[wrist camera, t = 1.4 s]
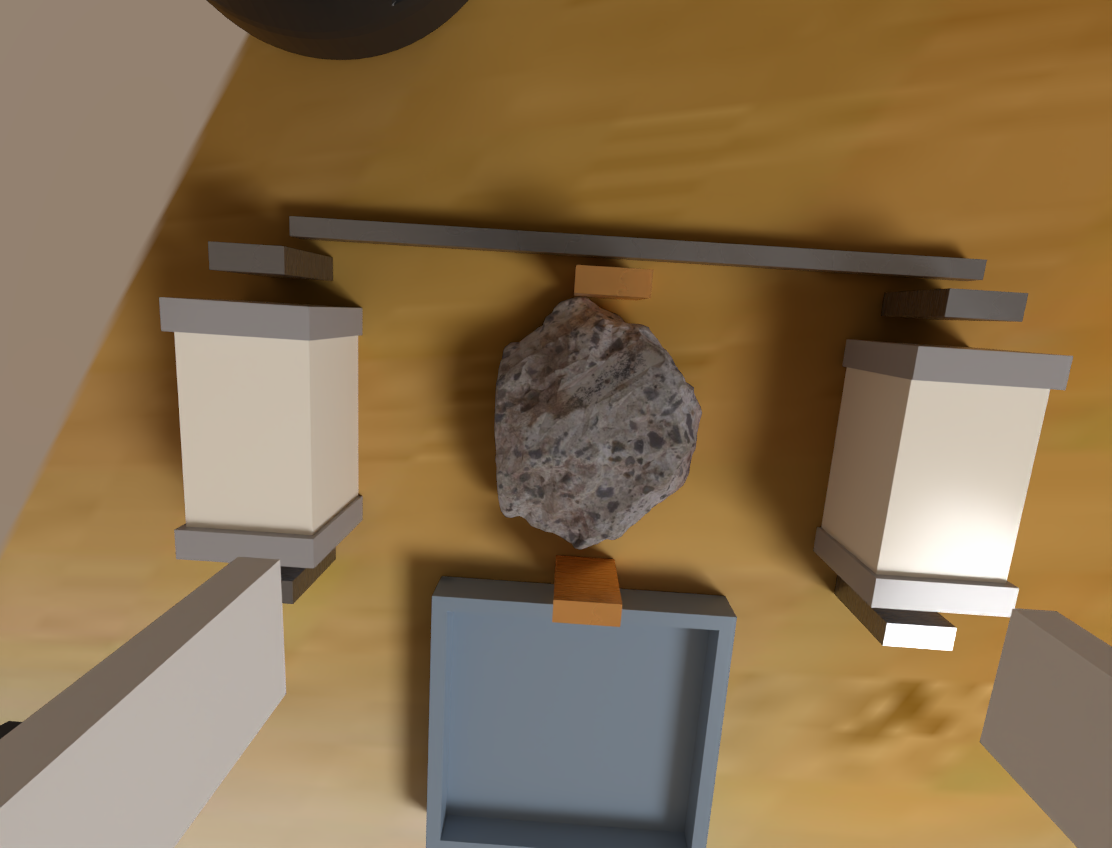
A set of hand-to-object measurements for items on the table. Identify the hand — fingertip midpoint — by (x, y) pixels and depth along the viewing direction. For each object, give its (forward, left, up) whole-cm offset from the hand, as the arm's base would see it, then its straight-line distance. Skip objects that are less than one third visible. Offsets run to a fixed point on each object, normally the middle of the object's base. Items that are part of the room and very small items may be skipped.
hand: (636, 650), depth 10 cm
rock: (-1, -1, -17) cm, 17 cm away
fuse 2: (-1, +13, -17) cm, 21 cm away
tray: (+14, 0, -17) cm, 22 cm away
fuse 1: (-1, -14, -17) cm, 21 cm away
